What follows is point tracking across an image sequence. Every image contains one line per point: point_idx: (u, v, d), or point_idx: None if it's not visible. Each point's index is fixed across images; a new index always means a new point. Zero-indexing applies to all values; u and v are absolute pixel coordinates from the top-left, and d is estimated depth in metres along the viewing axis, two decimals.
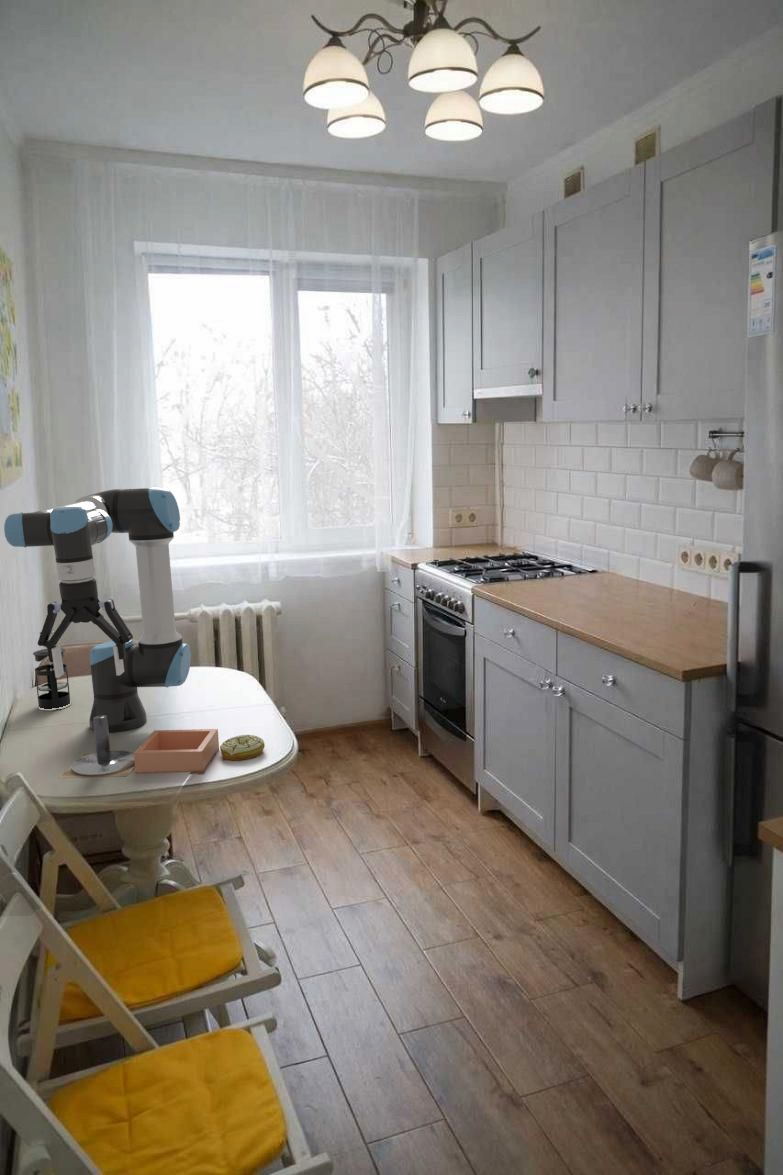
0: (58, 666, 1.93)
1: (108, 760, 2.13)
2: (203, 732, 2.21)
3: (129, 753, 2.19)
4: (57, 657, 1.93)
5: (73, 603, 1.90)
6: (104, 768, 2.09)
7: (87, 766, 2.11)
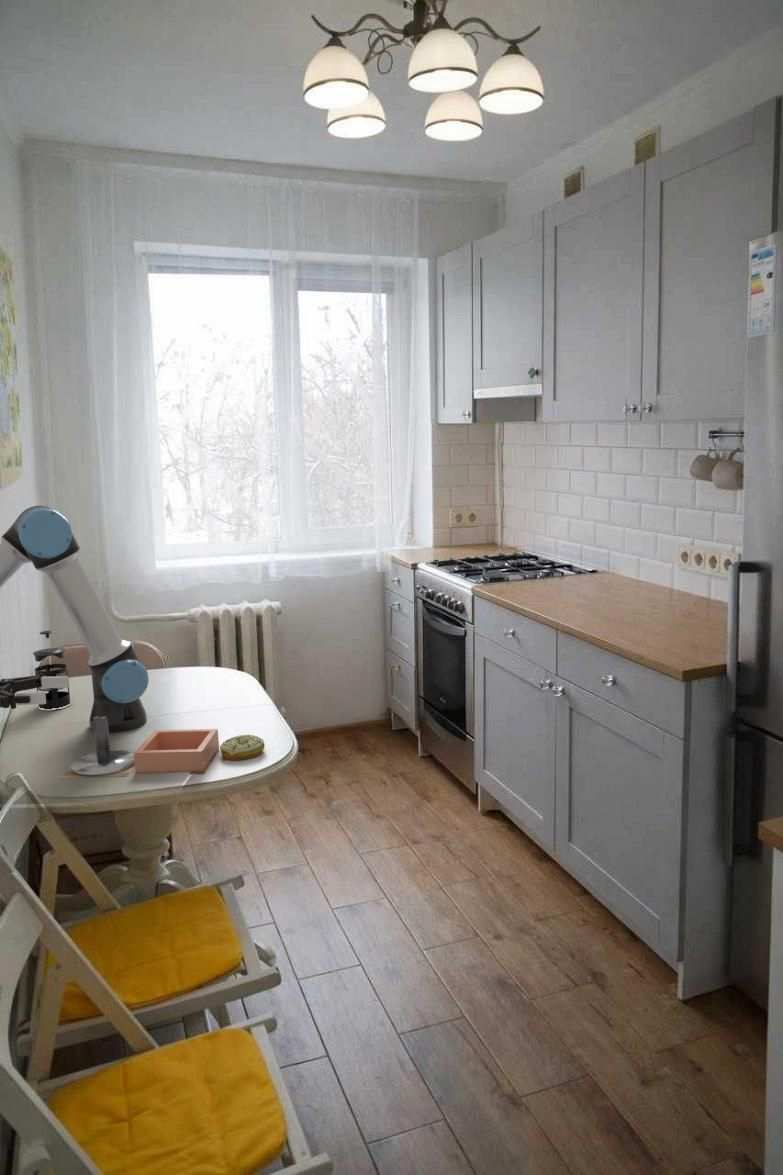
0: (58, 685, 2.18)
1: (108, 760, 2.13)
2: (203, 732, 2.21)
3: (129, 753, 2.19)
4: (50, 684, 2.18)
5: None
6: (104, 768, 2.09)
7: (87, 766, 2.11)
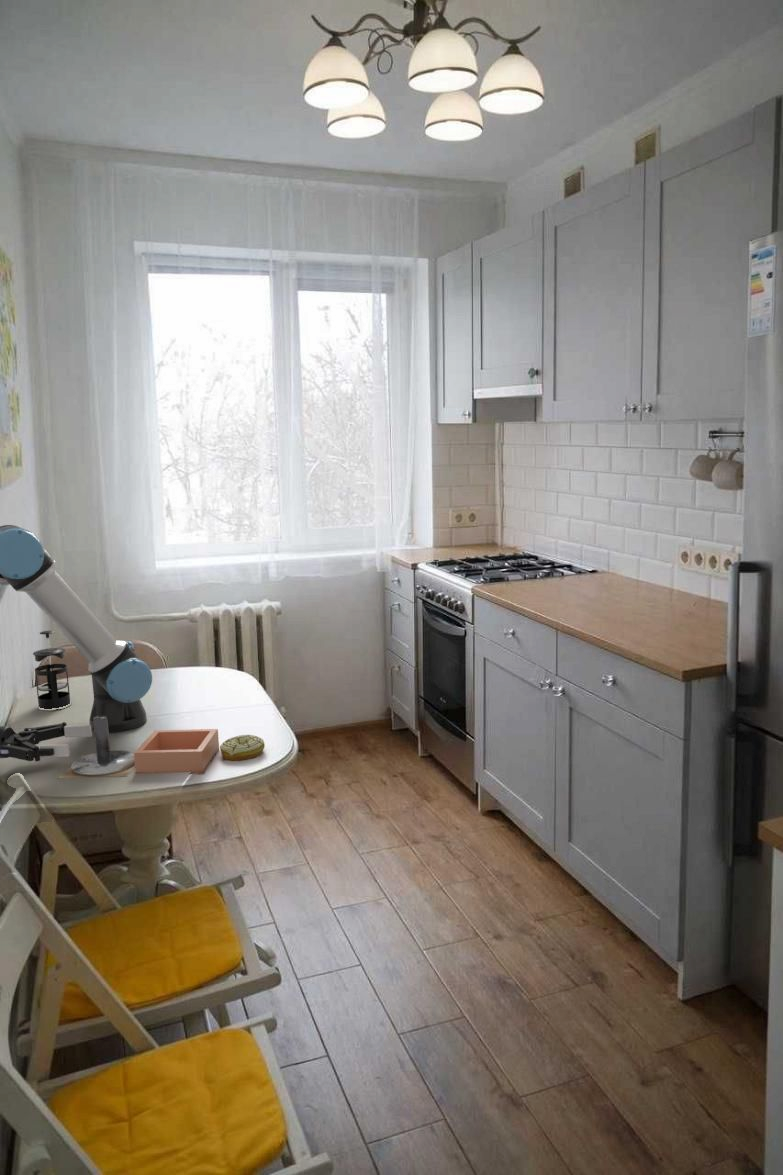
0: (81, 734, 2.19)
1: (108, 760, 2.13)
2: (203, 732, 2.21)
3: (129, 753, 2.19)
4: (73, 733, 2.19)
5: None
6: (104, 768, 2.09)
7: (87, 766, 2.11)
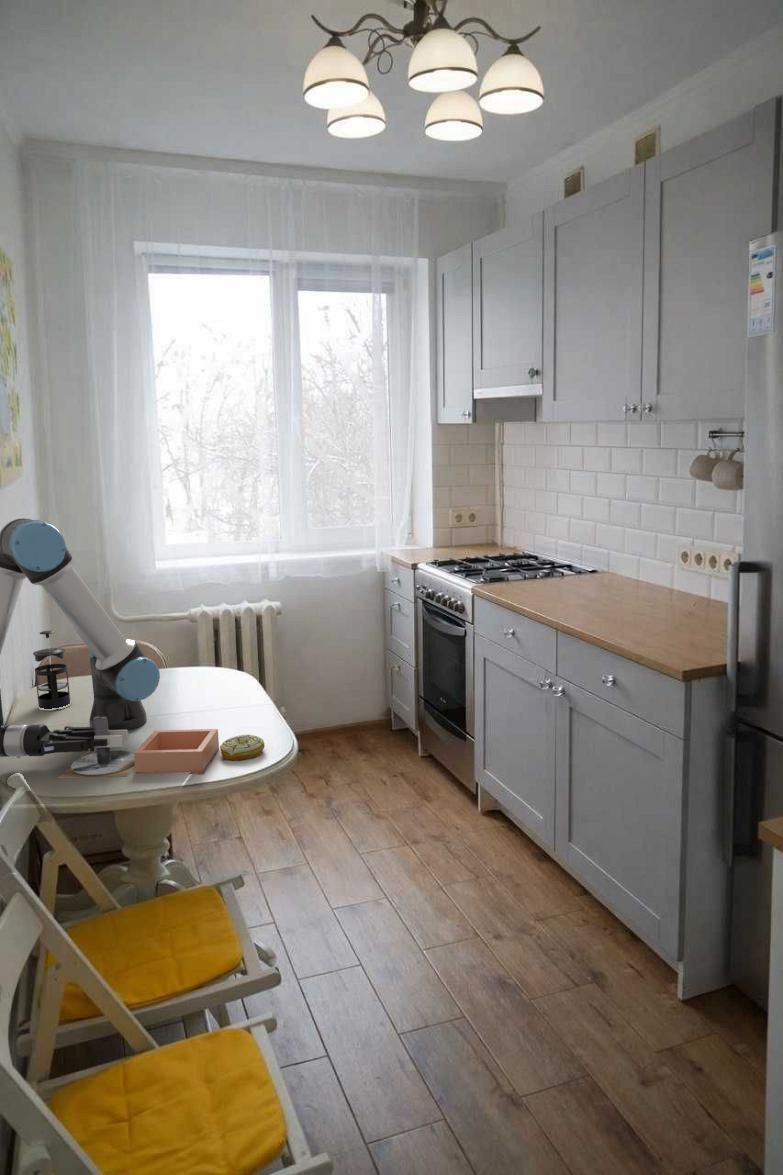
0: None
1: (108, 760, 2.13)
2: (203, 732, 2.21)
3: (129, 753, 2.19)
4: None
5: None
6: (104, 768, 2.09)
7: (87, 766, 2.11)
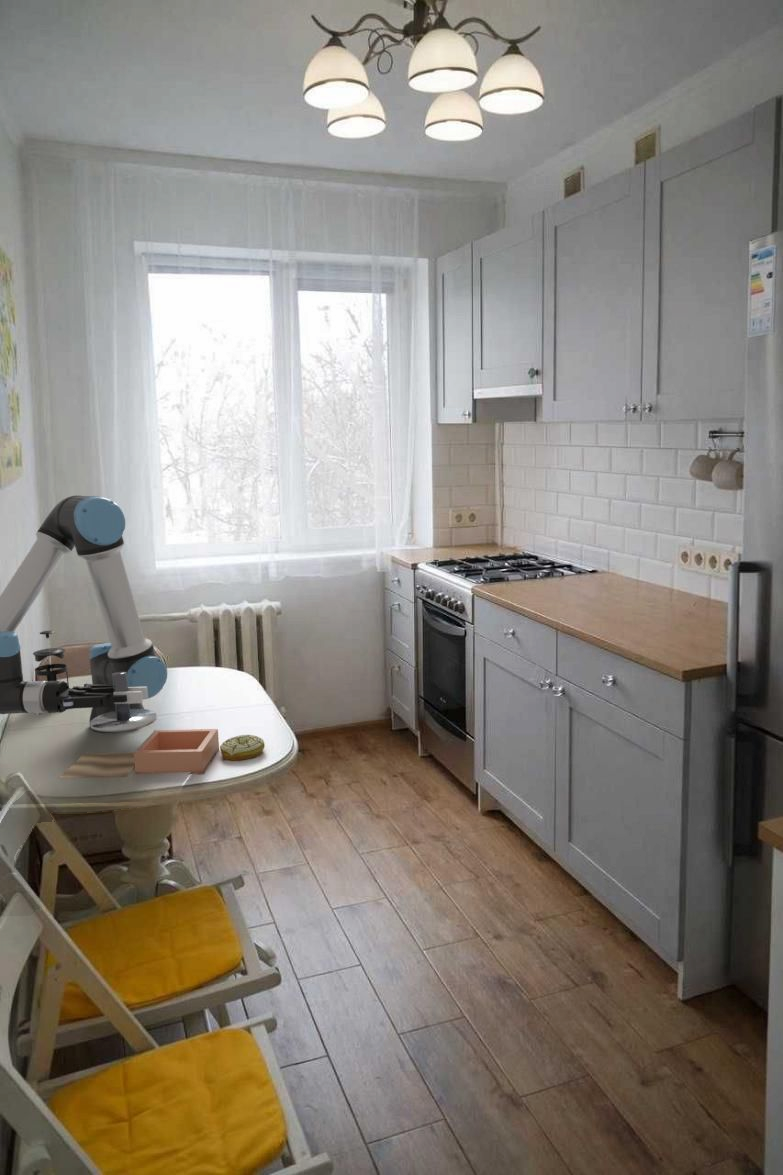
0: None
1: (127, 717, 2.10)
2: (203, 732, 2.21)
3: (149, 711, 2.16)
4: None
5: None
6: (123, 724, 2.06)
7: (107, 723, 2.08)
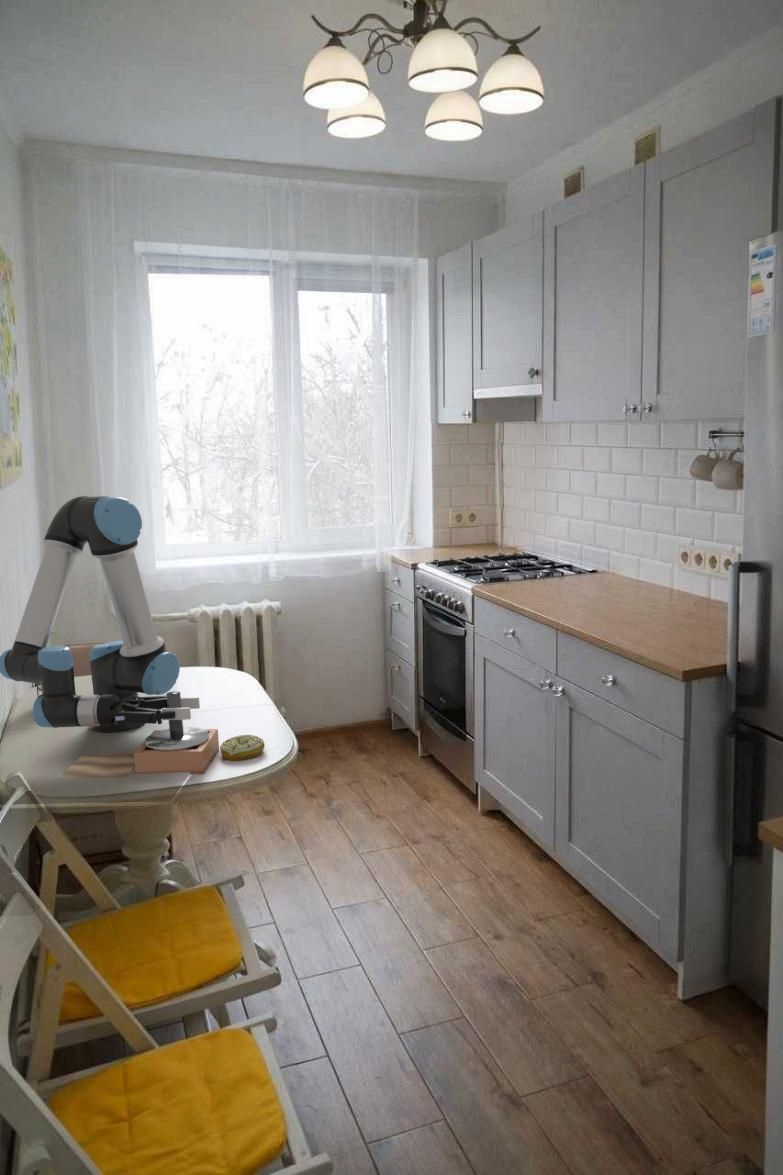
0: (189, 706, 2.17)
1: (181, 736, 2.13)
2: None
3: (200, 729, 2.19)
4: (181, 705, 2.17)
5: None
6: (178, 743, 2.10)
7: (161, 742, 2.11)
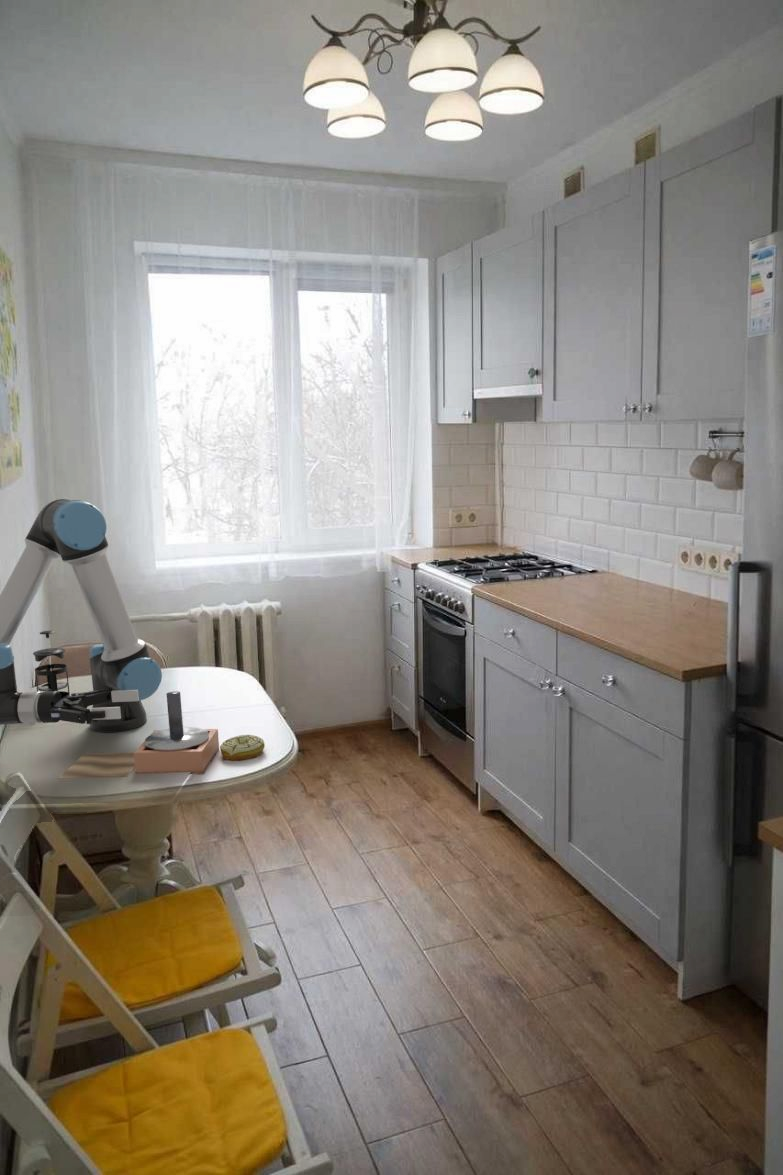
0: (128, 699, 2.20)
1: (181, 736, 2.13)
2: None
3: (200, 729, 2.19)
4: (120, 698, 2.20)
5: None
6: (178, 743, 2.10)
7: (161, 742, 2.11)
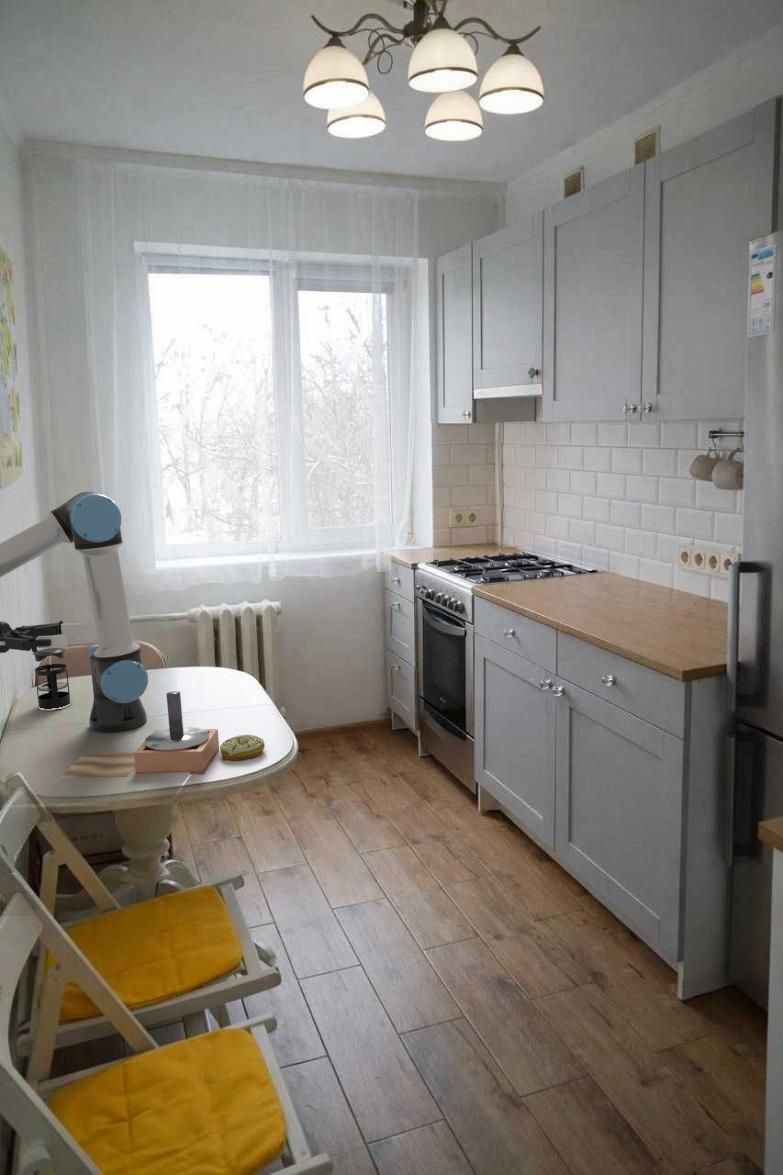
0: (78, 632, 2.19)
1: (181, 736, 2.13)
2: None
3: (200, 729, 2.19)
4: (70, 631, 2.19)
5: None
6: (178, 743, 2.10)
7: (161, 742, 2.11)
